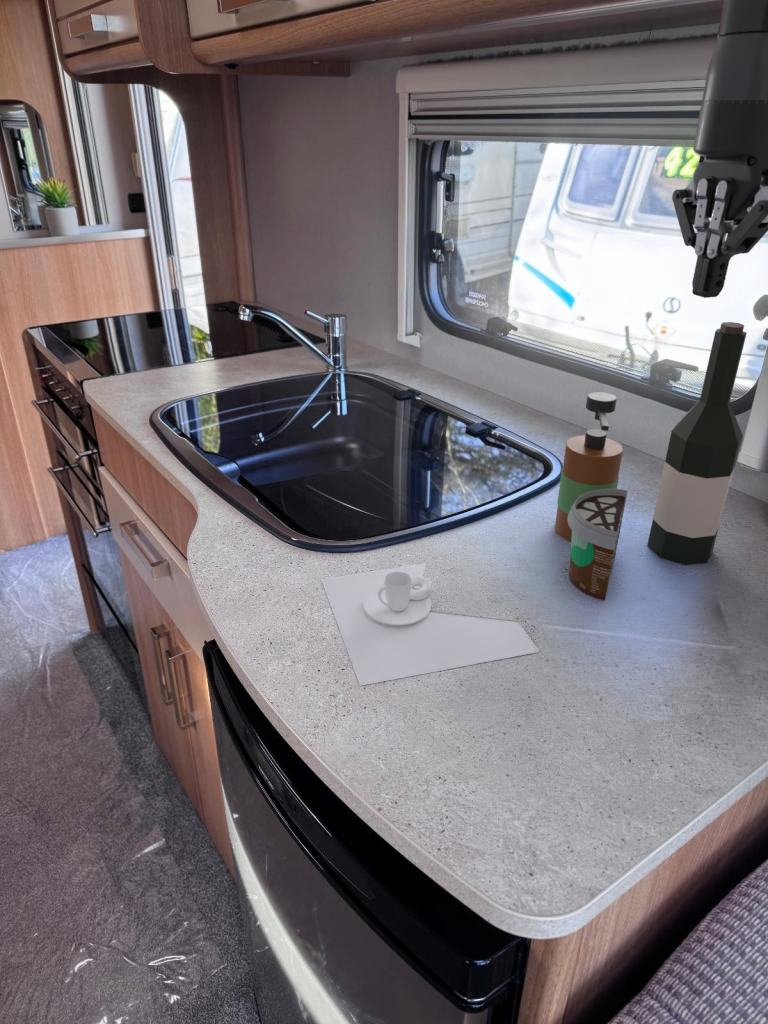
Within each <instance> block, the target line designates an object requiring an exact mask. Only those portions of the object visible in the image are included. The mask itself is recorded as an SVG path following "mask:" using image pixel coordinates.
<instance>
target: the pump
mask: <svg viewBox="0 0 768 1024" xmlns="http://www.w3.org/2000/svg"><path fill="white" fill-rule="evenodd" d="M617 399H618V398H617V396H616V395H614V394H612V393H609V392H604V391H595V392H589V393H588V394H587V396H586V403H585V408H586V410H588V412H592V413H594V420H596V421H599V425H600V430H602V431H604V432H606V431H609V428H610V426H609V421H608V416H607V414H612V413H613V412H615V410H616V406H617Z"/></svg>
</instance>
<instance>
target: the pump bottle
mask: <svg viewBox="0 0 768 1024" xmlns="http://www.w3.org/2000/svg"><path fill="white" fill-rule="evenodd" d="M607 435H608V434H607V432H606V431H604V430H601V429H597V428H595V429H594V428H592V429H587V430H586V431H585V434H583V435H582V434H581V435H576V436H573V437H570V438H568V439H567V440H566V443H565V450H564V456H563V457H564V458H563V463H562V464H563V465H562V468H561V473H560V474H561V475H560V479H559V481H560V482H559V489H558V495H557V502H556V503H557V509H556V516H555V523H554V531H555V533H556V534H557V535H558V536H559V537H560V538H562V539H563V540H565V541H568V542H570V543H571V538H572V529H571V528H570V527H569V525H568V521H567V518H568V515H569V512H570V510H571V507H572V505H573V503H574V502H575V501H576V499H577V498H578V497H579V496H581V495H582V494H584V493H587V492H590V491H593V490H599V489H618V484H619V478H620V475H619V474H620V470H621V463H622V457H623V451H624V448H623V445H622V444H621V443H619V442H618V441H616V440H614V439H611V438H608V436H607Z"/></svg>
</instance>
